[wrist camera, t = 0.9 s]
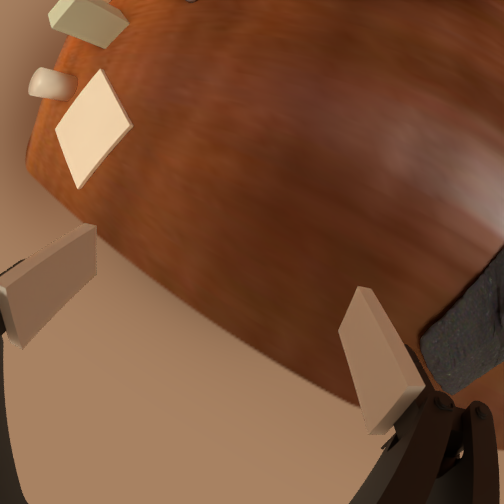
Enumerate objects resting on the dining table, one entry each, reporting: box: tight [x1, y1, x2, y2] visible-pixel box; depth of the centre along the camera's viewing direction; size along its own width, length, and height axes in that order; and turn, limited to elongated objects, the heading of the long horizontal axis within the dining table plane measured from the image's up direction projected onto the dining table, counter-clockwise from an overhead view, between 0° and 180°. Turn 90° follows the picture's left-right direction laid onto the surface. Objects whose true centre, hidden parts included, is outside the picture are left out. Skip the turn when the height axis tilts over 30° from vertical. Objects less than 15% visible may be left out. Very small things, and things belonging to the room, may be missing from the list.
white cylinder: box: [28, 67, 78, 102], centre depth 34 cm, size 5×5×8 cm
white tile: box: [55, 69, 133, 189], centre depth 36 cm, size 14×14×1 cm
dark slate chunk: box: [420, 249, 504, 395], centre depth 23 cm, size 15×22×5 cm
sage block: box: [48, 0, 130, 49], centre depth 27 cm, size 6×6×12 cm
